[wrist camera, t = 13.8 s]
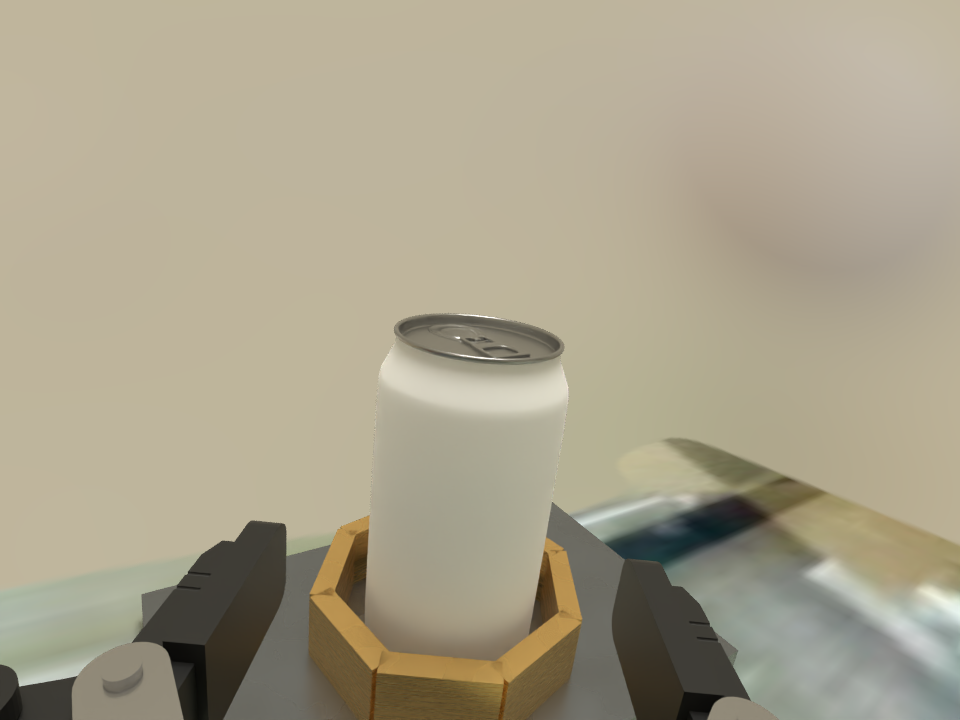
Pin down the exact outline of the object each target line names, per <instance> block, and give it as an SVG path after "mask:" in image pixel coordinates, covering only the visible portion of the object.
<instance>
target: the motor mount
mask: <svg viewBox="0 0 960 720" xmlns="http://www.w3.org/2000/svg"><path fill="white" fill-rule="evenodd" d="M369 519H370V515H369V516H367V517H364V518H362V519H359V520H356V521H354V522H352V523H349V524H346V525H344V526H341V527H340V529H338V530H337V532H336V535H335V537H334V539H333V541H332V544H331V545H328V546H324V547H321V548H317V549H313V550H309V551H305V552H302V553H298V554H294V555H290V556H286V584H285V590H284V595H283V598H282V601H281V604H280V607H279V609H278V611H277V613H276V615H275V617H274V619H273V621H272V623H271V625H270V627H269V629H268V631H267V633H266V635H265V637H264V639H263V641H262V643H261V645H260V647H259V649H258V651H257V653H256V655H255V657H254V659H253V661H252V663H251V665H250V667H249V669H248V671H247V673H246V675H245V677H244V679H243V681H242V683H241V685H240V687H239V689H238V691H237V693H236V695H235V697H234V699H233V701H232V703H231V705H230V707H229V709H228V711H227V713H226V715H225V717H224V719H223V720H637V719H636V716H635V712H634V709H633V705H632V702H631V699H630V695H629V692H628V688H627V685H626V682H625V678H624V675H623V671H622V668H621V665H620V661H619V658H618V654H617V651H616V648H615V644H614V640H613V635H612V612H613V607H614V603H615V598H616V594H617V589H618V585H619V581H620V576H621V572H622V567H623V564H624V562H625V560H624V559H623V558H622V557H620V556H619V555H618V554H617V553H615V552H614V551H613V550H612V549H610V548H609V547H608V546H607V545H605V544H604V543H603V542H602V541H600V540H599V539H598V538H597V537H595V536H594V535H593V534H592V533H590V532H589V531H588V530H587V529H585V528H584V527H583V526H582V525H580V524H579V523H578V522H577V521H575V520H574V519H573V518H572V517H570V516H569V515H568V514H567V513H565V512H564V511H563V510H561V509H560V508H559V507H558V506H556V505H555V504H554V503H553V502H552V504H551V510H550V516H549V522H548V528H547V534H546V539H545V545H544V551H543V557H542V563H541V568H540V574H539V580H538V586H537V591H536V597H535V603H534V608H533V614H532V619H531V625H530V630H529V634H528V636H527V637H526V638H525V639H524V640H522V641H521V642H520V643H518V644H517V645H516V646H514V647H513V648H512V649H510V650H509V651H508V652H507V653H505V654H504V655H503V656H501V657H500V658H499V659H497V660H496V661H487V660H476V659H465V658H454V657H443V656H433V655H422V654H411V653H400V652H390V651H389V650H388V649H387V648H386V647H385V646H384V645H383V644H382V643H381V642H380V641H379V639H378V638H377V637H376V636H375V635H374V634H373V633H372V632H371V631H370V630H369V628H368V627H367V626H366V625H365V594H366V574H367V555H368V537H369ZM176 588H177V585H176V586H172V587H168V588H164V589H160V590H156V591H153V592H149V593H145V594H142V612H143V628H144V627H145V625H146V624H147V623H148V622H149V620H150V619H151V618H152V616H153V615H154V614H155V613H156V611H157V610H158V609H159V608H160V606H161V605H162V604H163V603H164V601H165V600H166V599H167V598H168V596H169V595H170V594H171V593H172V591H173V590H174V589H176ZM715 634H716V636H717V638H718V643H721V645H722V647H723V649H724V651H725V653H726V655H727V656H728V658H729V660H730V662H731V664H732V666H733V665H734V662H735V658H736V655H737V652H738V650H737V649H736V648H734V647H733V646H732V645H731V644H729V643H728V642H727V641H726V640H724V639H723V638H722V637H721V636H719V635H718V634H717V633H716V632H715Z"/></svg>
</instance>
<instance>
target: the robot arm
mask: <svg viewBox="0 0 960 720" xmlns="http://www.w3.org/2000/svg"><path fill="white" fill-rule="evenodd" d="M285 584H286V526H285V524H282V523H272V522H262V521H250V522H249V523H248V524H247V525H246V527H245V528H244V530H243V531H242V532H241V534H240V535H239V537H238V538H237V539H236V541H235V542H231V541H221V542H220V543H219V544H217V545H215V546H214V547H212V548H211V549H209V550H208V551H206V552H205V553H203V554H202V555H201V556H200V557H199V558H198V560H197V561H196V562H195V564H194V565H193V566H192V567H191V569H190V570H189V571H188V574H187V575H185V576H184V577H183V579H182V580H181V581H180V582H179V584H178V585H177V588H176V589H174V590H173V591H172V593H171V594H170V595H169V596H168V598H167V599H166V600H165V601H164V603H163V604H162V605H161V606H160V608H159V609H158V610H157V611H156V613H155V614H154V615H153V616H152V618H151V619H150V620H149V622H148V623H147V624H146V625H145V627H144V628H143V629H142V630H141V632H140V633H139V634H138V635H137V637H136V638H135V639H134V640H133V642H132V643H129V644H125V645H121V646H118V647H116V648H113V649H111V650H109V651H107V652H105V653H103V654H102V655H100V656H98V657H97V658H95V659H94V660H93V661H91V662H90V663H89V664H88V665H87V666H86V667H85V668H84V669H83V670H82V671H81V672H80V674H79V675H78V676H76V677H71V678H67V679H61V680H55V681H50V682H44V683H38V684H32V685H27V686H21V687H19V683H18V678H17V675H16V673H15V671H14V670H13V669H11V668H10V667H8V666H4V665H0V720H223V719H224V717H225V715H226V713H227V711H228V709H229V707H230V705H231V703H232V701H233V699H234V697H235V695H236V693H237V691H238V689H239V687H240V685H241V683H242V681H243V679H244V677H245V675H246V673H247V671H248V669H249V667H250V665H251V663H252V661H253V659H254V657H255V655H256V653H257V651H258V649H259V647H260V645H261V643H262V641H263V639H264V637H265V635H266V633H267V631H268V629H269V627H270V625H271V623H272V621H273V619H274V617H275V615H276V613H277V611H278V609H279V607H280V604H281V601H282V598H283V595H284V590H285ZM612 635H613V640H614V644H615V648H616V651H617V654H618V658H619V661H620V665H621V668H622V671H623V675H624V678H625V682H626V685H627V688H628V692H629V695H630V699H631V702H632V705H633V709H634V712H635V716H636V719H637V720H779V719H778V718H777V717H775V716H774V715H773V714H772V713H771V712H769V711H768V710H767V709H765V708H763V707H762V706H760V705H758V704H756V703H754V702H752V701H751V700H750V698H749V696H748V694H747V692H746V690H745V688H744V687H743V685H742V683H741V681H740V679H739V677H738V675H737V673H736V672H735V670H734V668H733V666H732V664H731V662H730V660H729V658H728V656H727V655H726V653H725V651H724V649H723V647H722V645H721V643H718V638H717V636H716V634H715V632H714V630H713V628H712V627H710V623H709V621H708V619H707V617H706V615H705V613H704V611H703V609H702V608H701V606H700V604H699V603H698V602H697V601H696V600H695V599H694V598H693V597H692V596H691V595H690V594H689V593H688V592H687V591H686V590H685V589H684V588H683V587H678V586H671V583H670V581H669V579H668V577H667V575H666V573H665V571H664V569H663V567H662V565H661V564H660V563H659V562H654V561H644V560H634V559H626V560H625V562H624V564H623V567H622V572H621V576H620V581H619V585H618V589H617V594H616V598H615V603H614V607H613V612H612Z"/></svg>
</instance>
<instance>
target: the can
mask: <svg viewBox="0 0 960 720" xmlns="http://www.w3.org/2000/svg"><path fill="white" fill-rule="evenodd" d="M394 333H395V335H396V340H395V343H394V345H393V346H392V348H391V350H390V352H389V353H388V355H387V357H386V358H385V360H384V362H383V364H382V366H381V369H380V373H379V378H378V389H377V403H376V418H375V434H374V451H373V468H372V484H371V501H370V503H371V504H370V519H369V537H368V555H367V574H366V594H365V625H366V626H367V627H368V628H369V630H370V631H371V632H372V633H373V634H374V635H375V636H376V637H377V638H378V639H379V641H380V642H381V643H382V644H383V645H384V646H385V647H386V648H387V649H388V650H389V651H390V652H400V653H411V654H422V655H433V656H443V657H454V658H465V659H476V660H487V661H496V660H497V659H499V658H500V657H501V656H503V655H504V654H505V653H507V652H508V651H509V650H510V649H512V648H513V647H514V646H516V645H517V644H518V643H520V642H521V641H522V640H524V639H525V638H526V637H527V636H528V634H529V630H530V625H531V619H532V614H533V608H534V603H535V597H536V591H537V586H538V580H539V574H540V568H541V563H542V557H543V551H544V545H545V539H546V534H547V528H548V522H549V516H550V510H551V504H552V498H553V492H554V486H555V481H556V474H557V469H558V463H559V457H560V451H561V445H562V438H563V432H564V426H565V420H566V413H567V406H568V397H569V389H568V384H567V380H566V377H565V374H564V371H563V368H562V364H561V360H560V355H561V354H562V352H563V351H564V343H563V342H562V341H561V339H559V338H558V337H557V336H555V335H554V334H552V333H550V332H548V331H546V330H543V329H540V328H538V327H535V326H532V325H528V324H525V323H521V322H517V321H512V320H507V319H502V318H496V317H489V316H480V315H471V314H449V313H448V314H446V313H445V314H425V315H418V316H413V317H409V318H406V319H403V320H401V321H399V322H398V323H397V324H396V325H395V327H394Z"/></svg>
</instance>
